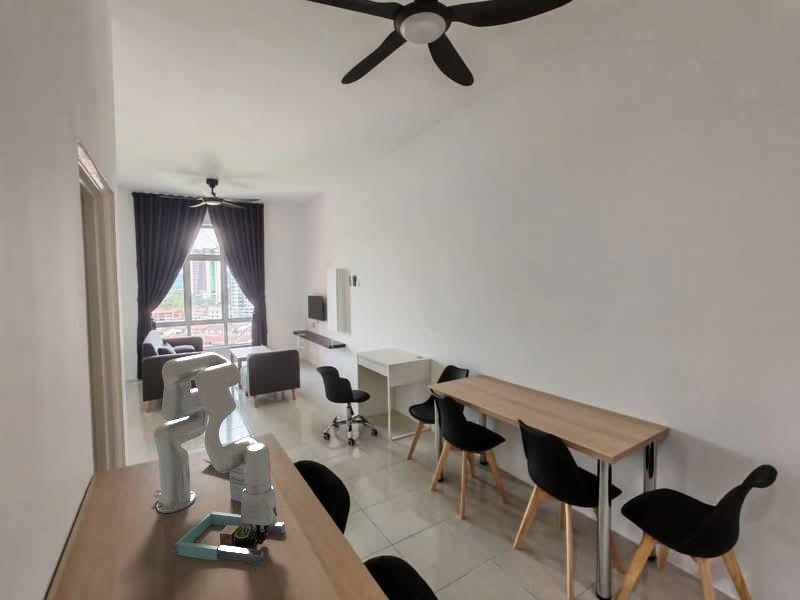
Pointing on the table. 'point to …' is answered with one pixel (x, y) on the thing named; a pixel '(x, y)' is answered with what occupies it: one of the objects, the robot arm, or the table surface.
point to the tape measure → (244, 537)
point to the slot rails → (248, 554)
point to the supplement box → (237, 483)
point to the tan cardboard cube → (228, 535)
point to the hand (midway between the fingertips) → (261, 541)
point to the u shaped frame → (201, 550)
